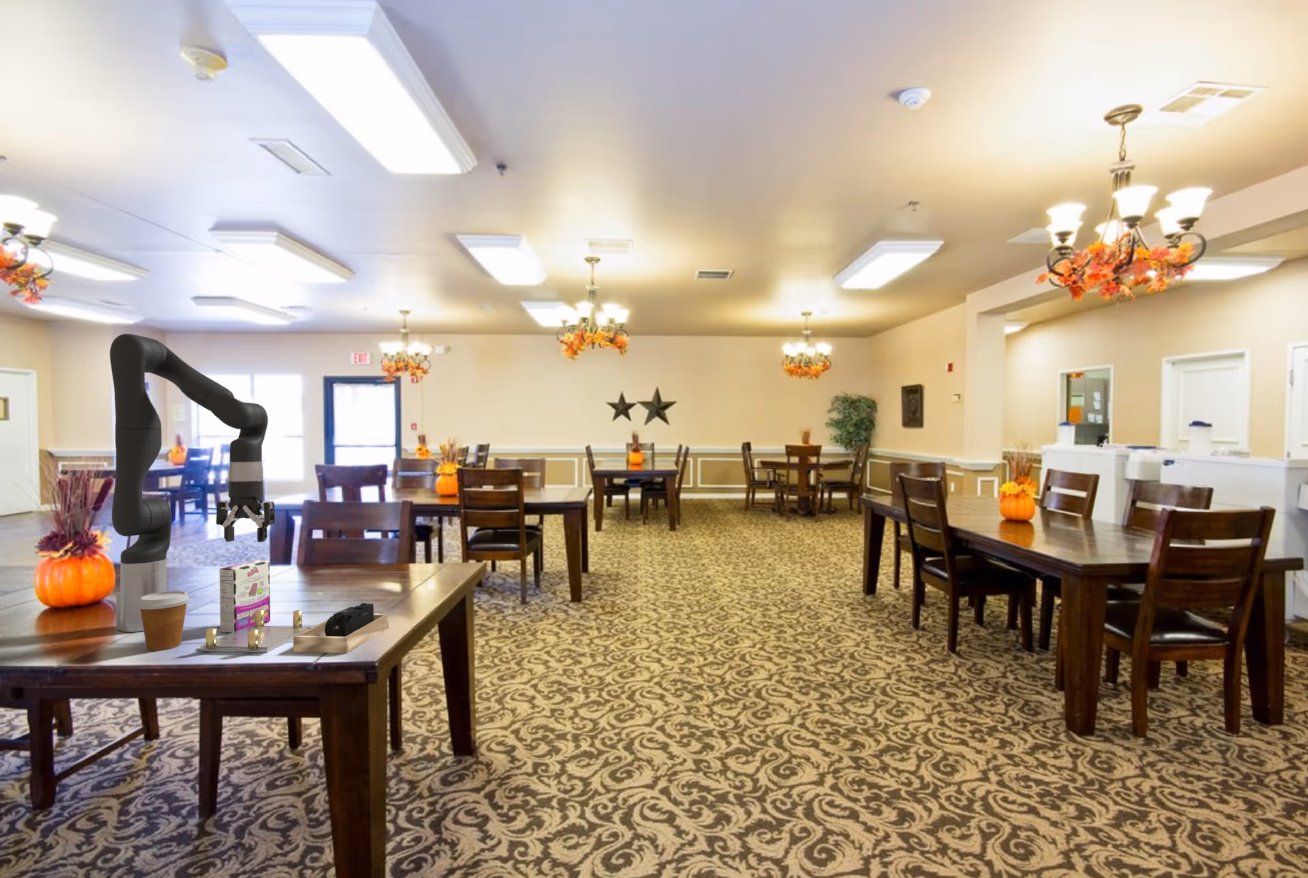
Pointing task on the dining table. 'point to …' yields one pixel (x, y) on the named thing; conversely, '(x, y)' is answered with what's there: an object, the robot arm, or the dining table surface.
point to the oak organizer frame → (321, 643)
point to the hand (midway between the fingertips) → (245, 541)
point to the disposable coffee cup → (163, 619)
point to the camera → (349, 620)
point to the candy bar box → (244, 594)
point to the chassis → (254, 636)
